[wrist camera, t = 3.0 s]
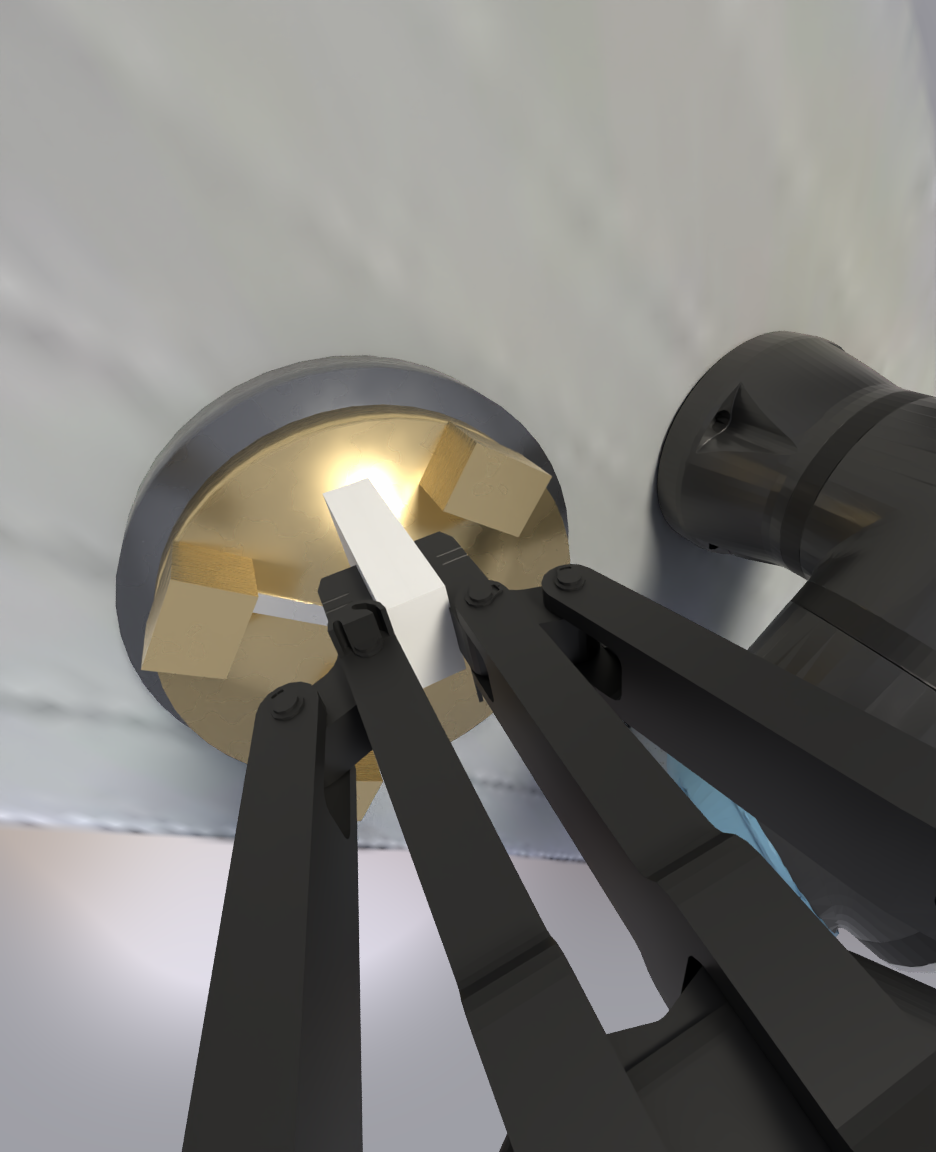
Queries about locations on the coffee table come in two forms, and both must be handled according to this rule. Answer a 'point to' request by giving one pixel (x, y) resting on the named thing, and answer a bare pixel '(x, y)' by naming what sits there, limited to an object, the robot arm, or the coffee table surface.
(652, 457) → the coffee table surface
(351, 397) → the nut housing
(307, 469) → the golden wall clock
